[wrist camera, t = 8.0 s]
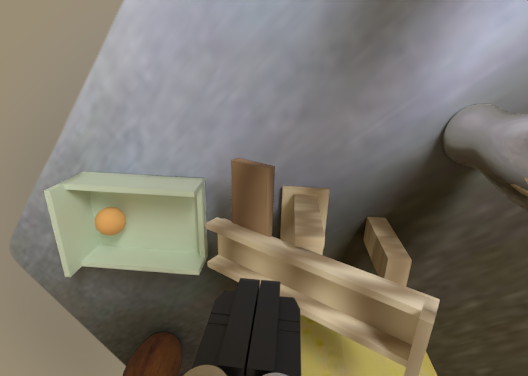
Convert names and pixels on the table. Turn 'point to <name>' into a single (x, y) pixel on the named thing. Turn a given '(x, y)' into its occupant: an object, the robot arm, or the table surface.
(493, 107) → the beer glass
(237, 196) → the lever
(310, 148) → the table surface
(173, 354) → the wooden figurine
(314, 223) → the fulcrum
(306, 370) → the cheese
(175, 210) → the tray
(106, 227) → the ball
